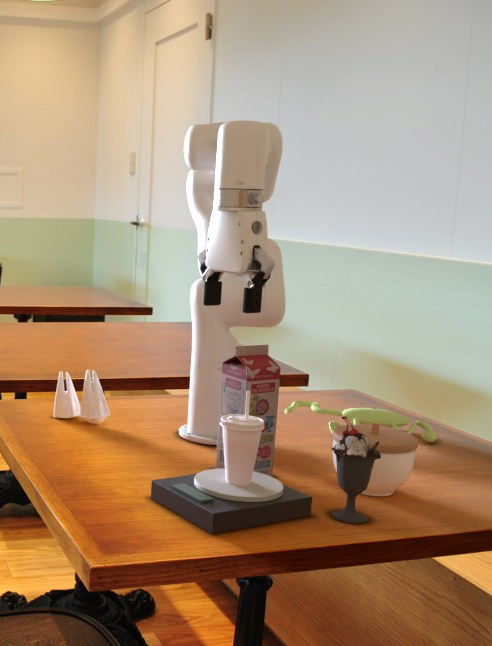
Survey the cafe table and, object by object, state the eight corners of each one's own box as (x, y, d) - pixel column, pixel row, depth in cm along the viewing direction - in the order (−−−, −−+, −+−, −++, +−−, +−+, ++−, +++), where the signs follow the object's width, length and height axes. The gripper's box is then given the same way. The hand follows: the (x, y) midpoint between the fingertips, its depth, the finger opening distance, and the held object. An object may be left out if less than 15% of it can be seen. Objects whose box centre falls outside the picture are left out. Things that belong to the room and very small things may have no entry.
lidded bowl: (406, 508, 126) (414, 438, 124) (320, 491, 133) (326, 425, 131) (417, 485, 137) (424, 420, 135) (336, 471, 143) (342, 409, 141)
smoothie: (262, 490, 121) (269, 397, 119) (217, 486, 123) (223, 394, 120) (258, 476, 128) (265, 387, 125) (215, 473, 129) (221, 384, 126)
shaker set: (111, 423, 171) (113, 370, 169) (100, 427, 168) (102, 374, 166) (62, 413, 178) (64, 363, 176) (51, 417, 175) (53, 365, 173)
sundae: (317, 509, 125) (325, 412, 122) (360, 508, 126) (369, 412, 123) (337, 526, 118) (346, 424, 116) (382, 525, 119) (392, 424, 117)
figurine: (273, 424, 174) (275, 397, 173) (387, 419, 179) (389, 394, 178) (323, 449, 156) (325, 420, 155) (447, 444, 161) (450, 416, 160)
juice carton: (215, 469, 143) (223, 343, 139) (246, 465, 145) (255, 341, 142) (240, 481, 137) (249, 349, 133) (272, 476, 139) (282, 347, 136)
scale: (242, 484, 135) (244, 461, 135) (310, 516, 122) (313, 491, 121) (150, 498, 128) (151, 475, 127) (212, 534, 115) (214, 508, 114)
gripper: (295, 202, 125) (287, 315, 128) (221, 201, 141) (215, 302, 144) (256, 201, 122) (248, 317, 125) (185, 200, 138) (179, 303, 140)
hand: (231, 308), depth 134 cm, fingers open, 9 cm apart
